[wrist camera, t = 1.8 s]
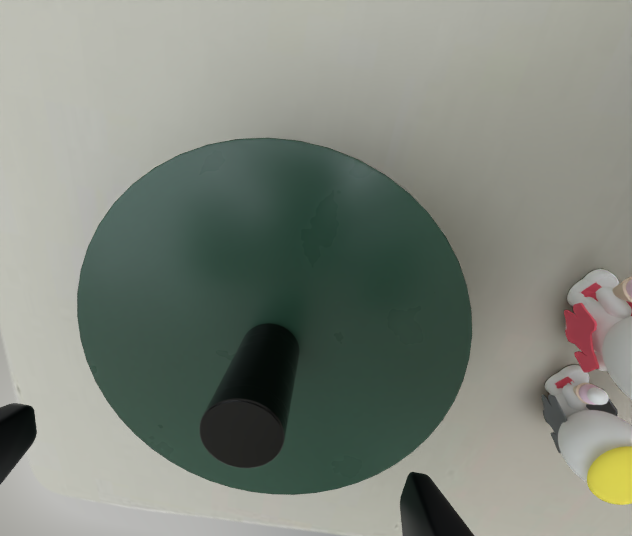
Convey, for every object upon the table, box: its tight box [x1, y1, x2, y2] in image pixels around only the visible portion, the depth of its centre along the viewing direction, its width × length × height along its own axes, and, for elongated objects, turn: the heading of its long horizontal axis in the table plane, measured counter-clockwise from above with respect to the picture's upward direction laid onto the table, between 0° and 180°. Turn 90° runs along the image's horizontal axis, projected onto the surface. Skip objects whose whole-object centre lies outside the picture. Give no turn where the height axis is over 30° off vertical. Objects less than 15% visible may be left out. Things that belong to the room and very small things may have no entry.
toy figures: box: [542, 269, 632, 505], centre depth 15 cm, size 12×4×8 cm, turn 1°
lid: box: [77, 138, 472, 495], centre depth 11 cm, size 16×16×6 cm
